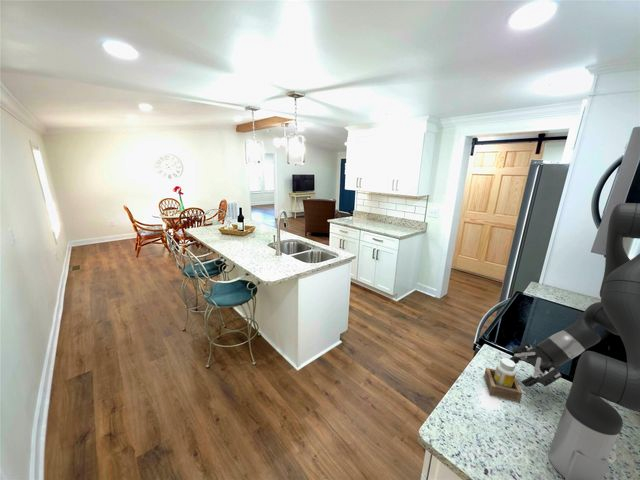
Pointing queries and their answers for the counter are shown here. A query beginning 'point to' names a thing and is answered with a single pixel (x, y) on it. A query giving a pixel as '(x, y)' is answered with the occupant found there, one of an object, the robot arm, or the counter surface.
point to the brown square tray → (502, 388)
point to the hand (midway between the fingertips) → (515, 374)
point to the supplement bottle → (505, 373)
